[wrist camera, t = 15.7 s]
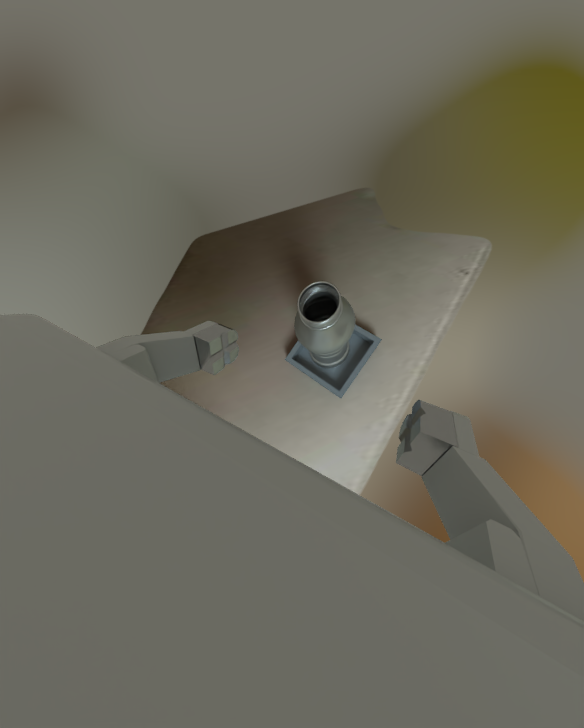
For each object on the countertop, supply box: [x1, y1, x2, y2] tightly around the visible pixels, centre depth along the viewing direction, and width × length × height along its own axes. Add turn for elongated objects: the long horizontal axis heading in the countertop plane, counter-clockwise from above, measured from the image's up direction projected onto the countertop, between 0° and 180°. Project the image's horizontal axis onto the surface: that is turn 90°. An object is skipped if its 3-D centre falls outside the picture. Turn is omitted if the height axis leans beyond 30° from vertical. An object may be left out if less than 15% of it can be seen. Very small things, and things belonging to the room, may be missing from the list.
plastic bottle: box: [294, 281, 355, 368], centre depth 27 cm, size 6×7×20 cm
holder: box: [285, 325, 382, 398], centre depth 35 cm, size 11×11×3 cm
